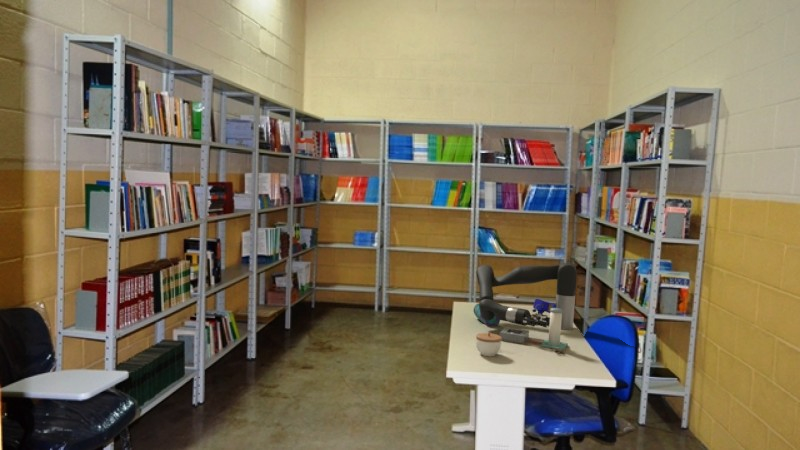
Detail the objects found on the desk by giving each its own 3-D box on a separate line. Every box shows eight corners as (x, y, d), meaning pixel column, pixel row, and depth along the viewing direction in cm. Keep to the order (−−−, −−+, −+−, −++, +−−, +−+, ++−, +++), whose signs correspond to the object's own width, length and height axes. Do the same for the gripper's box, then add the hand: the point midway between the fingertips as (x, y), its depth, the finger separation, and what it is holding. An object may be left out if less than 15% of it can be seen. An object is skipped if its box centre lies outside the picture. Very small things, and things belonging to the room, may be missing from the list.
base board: (503, 335, 272) (503, 333, 272) (567, 345, 260) (567, 343, 260) (495, 342, 260) (495, 340, 259) (562, 353, 247) (562, 351, 247)
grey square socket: (505, 334, 270) (505, 326, 270) (528, 338, 266) (529, 330, 265) (499, 339, 260) (499, 331, 260) (523, 343, 256) (524, 335, 255)
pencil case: (501, 328, 286) (502, 309, 285) (484, 328, 285) (485, 309, 284) (487, 318, 307) (488, 300, 306) (472, 318, 305) (473, 300, 304)
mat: (544, 340, 262) (544, 340, 262) (567, 344, 258) (567, 343, 258) (540, 346, 253) (540, 345, 253) (563, 349, 249) (563, 349, 249)
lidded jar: (506, 356, 240) (507, 334, 239) (485, 359, 234) (487, 337, 233) (489, 349, 249) (491, 328, 248) (470, 352, 243) (471, 330, 243)
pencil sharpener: (566, 326, 297) (568, 302, 296) (534, 326, 293) (535, 302, 292) (554, 319, 311) (555, 297, 310) (523, 319, 307) (524, 296, 306)
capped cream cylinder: (549, 342, 259) (551, 307, 258) (560, 343, 257) (563, 308, 256) (547, 344, 254) (549, 309, 253) (558, 346, 252) (561, 311, 251)
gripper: (524, 321, 272) (556, 327, 262) (510, 326, 261) (543, 334, 251) (525, 305, 272) (557, 311, 262) (511, 310, 260) (544, 317, 250)
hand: (550, 322), depth 256 cm, fingers open, 8 cm apart
